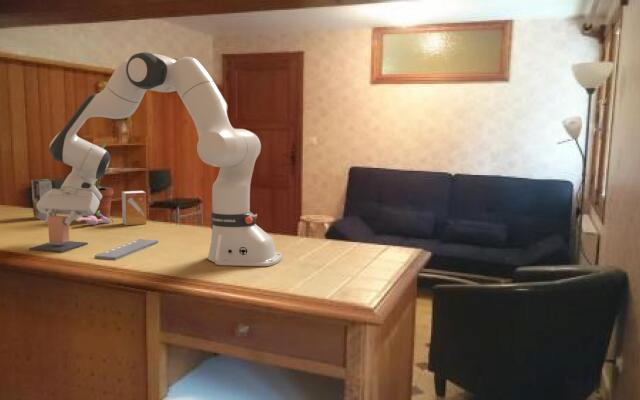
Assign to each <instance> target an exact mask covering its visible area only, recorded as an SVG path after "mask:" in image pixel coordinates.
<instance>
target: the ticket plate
mask: <svg viewBox="0 0 640 400" xmlns="http://www.w3.org/2000/svg"><path fill="white" fill-rule="evenodd" d="M158 243H159V240H158V239H145V238H139V239H136V240H133V241H131V242H130V241H129V242H128V243H125V244H122V245H119V246H117V247H115V248H111V249H109V250H106V251H104V252H101V253H98V254H96V255H94V259H100V260H101V259H102V260H112V261H113V260H114V261H117V260H119V259H121V258H122V259H123V258H124V257H126V256H129V255H132V254H133V253H136V252H139V251H141V250H143V249H146V248H148V247H151V246H153V245H156V244H158Z"/></svg>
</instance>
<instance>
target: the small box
mask: <svg viewBox="0 0 640 400" xmlns="http://www.w3.org/2000/svg"><path fill="white" fill-rule="evenodd" d="M121 208H122V210H121V211H122V214H121V215H122V223H123V225H125V226H135V225H136V226H137V225H147V192H146V191H144V190H130V191H129V190H126V191H121Z"/></svg>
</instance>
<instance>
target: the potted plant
mask: <svg viewBox="0 0 640 400" xmlns="http://www.w3.org/2000/svg"><path fill="white" fill-rule="evenodd" d="M106 145H107V141H106V140H102V143H101V145H100V147H101V148H103V149H105V147H106ZM101 179H102V177H101V178H99V179H98V180H99V181H98V180H97V181H96V182H95V183H94V186H95V187H96V188H97V189H98V190H99V192H100V193H101V195H102V199H101V200H99V201H100V204H99V206H98V209H97V211H100V212H99V213H100V214H102V215H103V216H104V217H107V218H108V219H110V218H111V217H110V216H111V206H112V196H114V188H113V187H112V186H111V187H110V186H101V185H100V182H101ZM97 211H96V212H97ZM96 212H95V214H93V215H92V216H95V217H96V218H97V220H98V219H100V218H101V216H97V215H96ZM82 217H83V218H86V217H88V216H82Z"/></svg>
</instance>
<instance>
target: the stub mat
mask: <svg viewBox="0 0 640 400" xmlns="http://www.w3.org/2000/svg"><path fill="white" fill-rule="evenodd" d="M87 245H89V242H85V241H84V242H83V241H72V240H69V241H67V242H64V243H59V242H49V241H48V242H46V243H43V244H39V245H35V246H33V247H29V248H28V250H29V251H36V252H49V253H60V252H62V254H63V253H66V252H69V251H72V250H75V249H78V248H81V247H84V246H87ZM80 246H81V247H80ZM74 248H75V249H74Z"/></svg>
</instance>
